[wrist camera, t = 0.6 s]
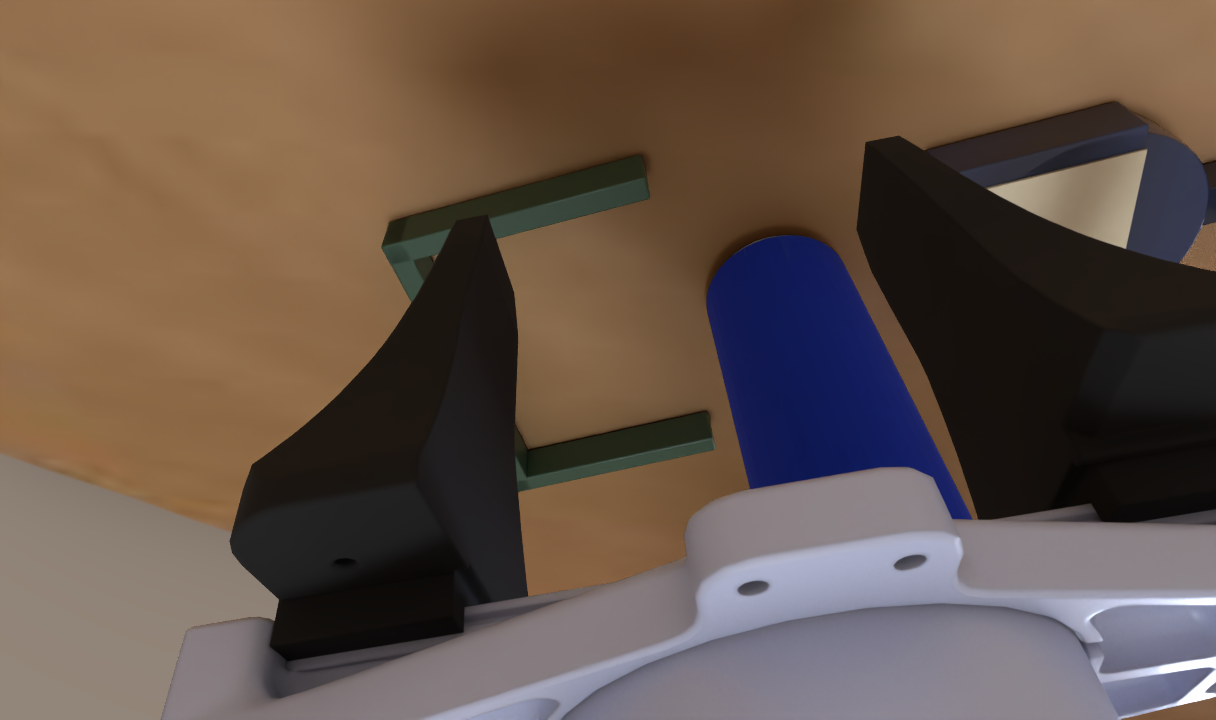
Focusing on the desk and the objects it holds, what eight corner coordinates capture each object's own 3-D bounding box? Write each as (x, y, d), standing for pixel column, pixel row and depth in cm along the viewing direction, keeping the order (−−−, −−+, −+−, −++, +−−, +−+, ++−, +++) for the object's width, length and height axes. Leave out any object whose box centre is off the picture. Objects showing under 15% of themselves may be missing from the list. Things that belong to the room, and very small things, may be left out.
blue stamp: (1432, 19, 23) (1548, 62, 20) (1337, 237, 28) (1420, 295, 25) (924, 149, 25) (969, 204, 22) (922, 331, 30) (959, 394, 27)
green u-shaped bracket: (710, 422, 33) (716, 450, 32) (516, 465, 34) (515, 493, 33) (641, 153, 25) (645, 176, 23) (388, 221, 26) (380, 247, 25)
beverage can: (689, 332, 30) (770, 725, 18) (725, 216, 26) (852, 608, 15) (814, 346, 30) (966, 731, 19) (865, 235, 27) (1085, 621, 16)
